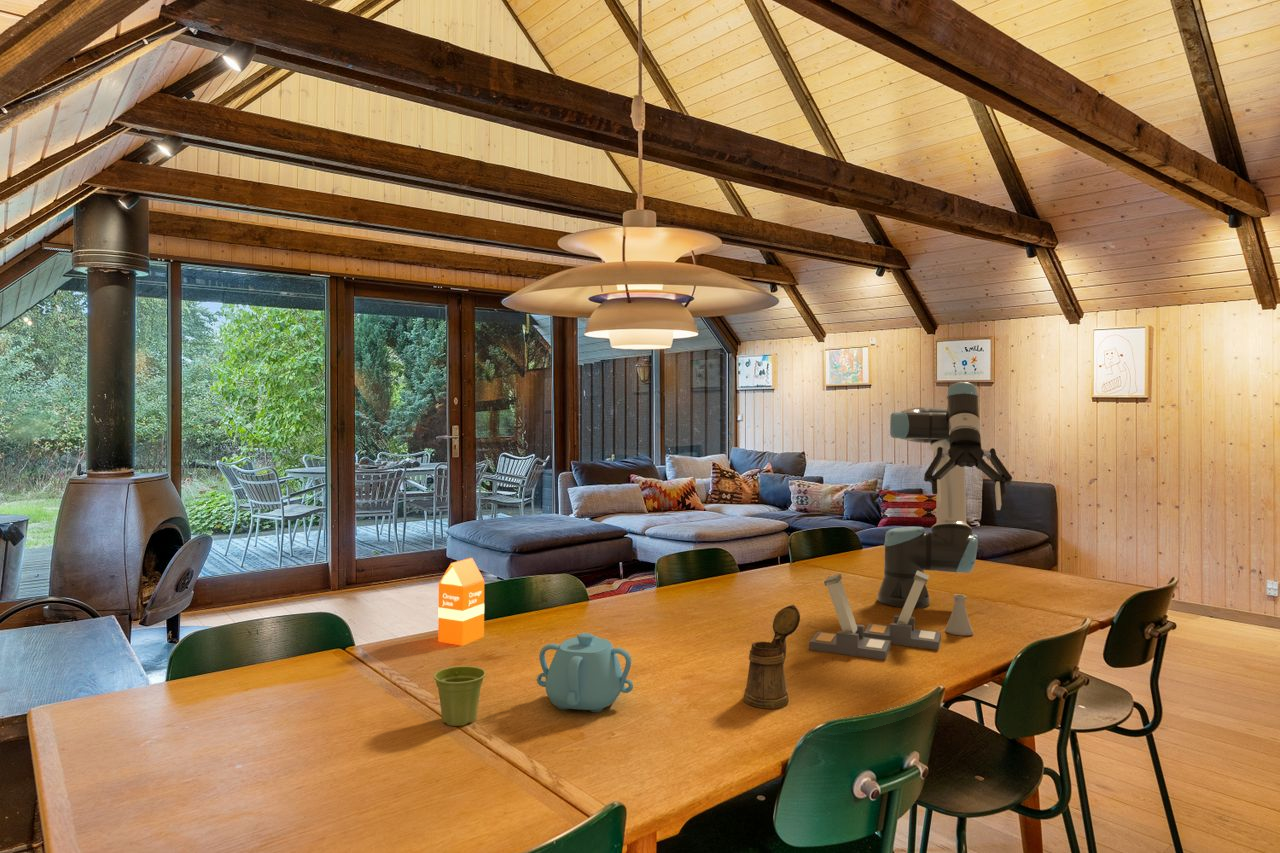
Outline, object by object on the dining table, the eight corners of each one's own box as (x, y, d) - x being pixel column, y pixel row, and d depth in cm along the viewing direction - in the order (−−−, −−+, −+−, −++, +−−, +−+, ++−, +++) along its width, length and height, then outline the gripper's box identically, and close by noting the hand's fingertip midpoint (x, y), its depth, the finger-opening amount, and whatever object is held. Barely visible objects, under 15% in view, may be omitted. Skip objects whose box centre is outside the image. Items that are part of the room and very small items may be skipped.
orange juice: (484, 636, 196) (485, 558, 195) (462, 645, 188) (463, 564, 187) (459, 632, 199) (460, 555, 199) (437, 641, 191) (438, 561, 191)
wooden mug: (811, 696, 156) (812, 608, 156) (769, 712, 147) (770, 619, 147) (776, 684, 163) (777, 600, 163) (734, 699, 154) (735, 610, 154)
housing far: (863, 640, 196) (863, 621, 196) (869, 630, 205) (869, 612, 205) (938, 650, 188) (938, 630, 188) (940, 639, 198) (941, 620, 198)
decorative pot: (639, 710, 148) (641, 640, 148) (562, 724, 140) (563, 650, 140) (603, 683, 162) (605, 620, 162) (532, 695, 155) (533, 628, 155)
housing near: (809, 649, 188) (809, 629, 188) (817, 638, 197) (818, 619, 197) (885, 660, 180) (885, 639, 180) (890, 648, 189) (891, 628, 189)
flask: (968, 629, 208) (969, 593, 208) (977, 637, 201) (978, 599, 200) (941, 628, 208) (941, 592, 208) (949, 636, 201) (949, 598, 201)
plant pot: (438, 710, 146) (438, 665, 146) (488, 709, 147) (488, 665, 147) (428, 731, 137) (429, 682, 137) (482, 729, 138) (482, 682, 137)
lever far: (893, 626, 195) (915, 574, 193) (896, 621, 200) (917, 570, 198) (905, 632, 194) (927, 579, 191) (908, 626, 199) (929, 575, 197)
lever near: (843, 640, 186) (823, 581, 188) (847, 634, 192) (828, 576, 194) (856, 637, 185) (836, 578, 187) (860, 631, 190) (840, 573, 192)
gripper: (914, 425, 200) (915, 496, 188) (1019, 427, 192) (1027, 500, 181) (913, 441, 206) (914, 510, 194) (1015, 443, 198) (1022, 516, 187)
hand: (968, 506), depth 187 cm, fingers open, 13 cm apart
